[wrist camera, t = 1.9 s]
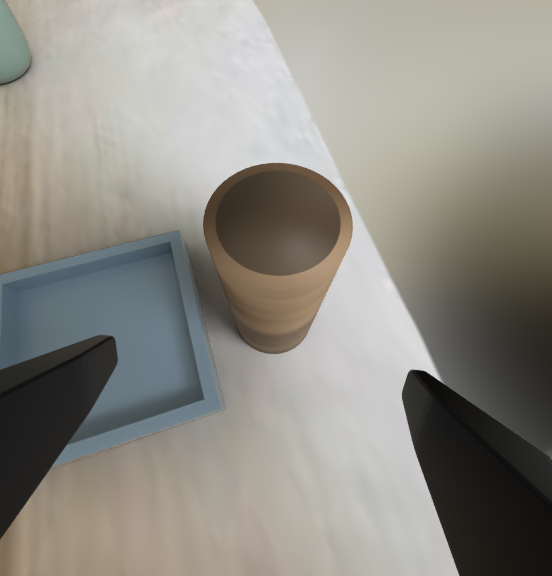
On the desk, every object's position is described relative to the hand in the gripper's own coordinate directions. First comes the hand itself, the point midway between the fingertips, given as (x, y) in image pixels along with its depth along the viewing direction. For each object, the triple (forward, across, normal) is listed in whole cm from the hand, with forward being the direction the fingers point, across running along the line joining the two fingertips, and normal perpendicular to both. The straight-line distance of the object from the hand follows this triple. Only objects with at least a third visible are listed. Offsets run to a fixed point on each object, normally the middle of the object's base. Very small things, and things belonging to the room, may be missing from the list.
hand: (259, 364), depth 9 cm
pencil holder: (+12, 0, +5) cm, 13 cm away
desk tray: (+10, +11, +7) cm, 16 cm away
